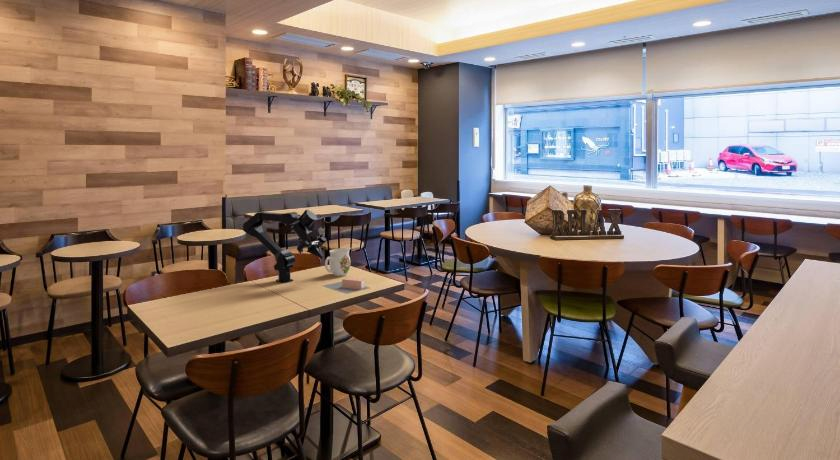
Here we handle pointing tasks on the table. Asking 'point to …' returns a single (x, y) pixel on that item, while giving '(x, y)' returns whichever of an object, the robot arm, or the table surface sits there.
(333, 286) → the mat
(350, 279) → the block
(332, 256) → the pitcher
